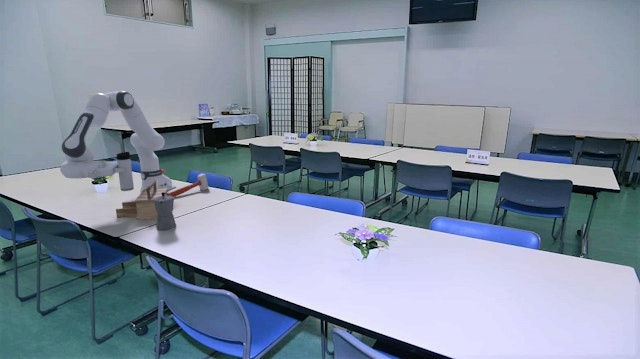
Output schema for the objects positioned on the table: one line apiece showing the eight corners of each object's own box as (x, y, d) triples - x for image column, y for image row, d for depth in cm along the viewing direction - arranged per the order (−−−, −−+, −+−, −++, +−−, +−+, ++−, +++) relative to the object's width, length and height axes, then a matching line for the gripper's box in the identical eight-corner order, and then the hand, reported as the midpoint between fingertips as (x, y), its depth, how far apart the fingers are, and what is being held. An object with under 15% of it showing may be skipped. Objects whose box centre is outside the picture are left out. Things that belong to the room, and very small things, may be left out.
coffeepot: (174, 231, 171) (171, 195, 167) (153, 233, 169) (149, 196, 164) (179, 220, 185) (176, 187, 181) (159, 221, 183) (156, 188, 179)
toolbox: (125, 208, 204) (122, 180, 200) (169, 205, 210) (166, 178, 206) (114, 221, 183) (110, 190, 179) (163, 218, 189) (160, 188, 185)
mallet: (168, 190, 219) (206, 173, 243) (164, 189, 221) (202, 173, 245) (171, 206, 223) (209, 188, 247) (168, 205, 225) (205, 187, 249)
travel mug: (137, 188, 194) (132, 152, 189) (127, 191, 188) (122, 154, 183) (128, 187, 196) (123, 151, 191) (117, 190, 190) (113, 153, 185)
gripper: (89, 167, 175) (120, 166, 179) (102, 159, 194) (130, 158, 198) (91, 179, 177) (122, 178, 180) (104, 171, 196) (132, 169, 199)
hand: (126, 168), depth 189 cm, fingers closed on travel mug, 6 cm apart
